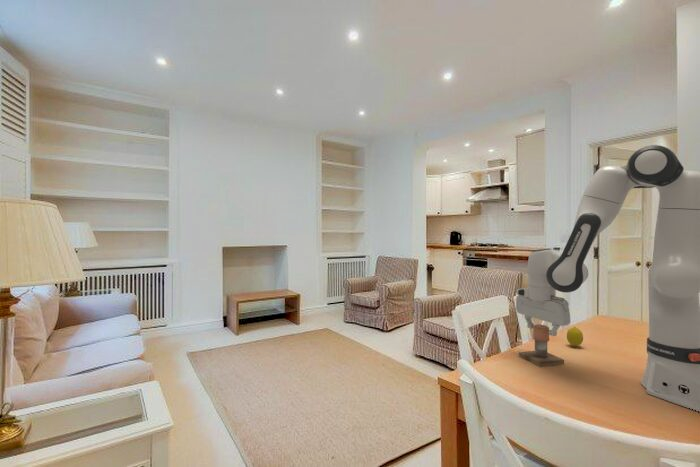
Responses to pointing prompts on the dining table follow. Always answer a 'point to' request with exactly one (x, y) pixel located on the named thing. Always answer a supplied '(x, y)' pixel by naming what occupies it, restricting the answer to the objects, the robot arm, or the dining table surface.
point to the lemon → (574, 336)
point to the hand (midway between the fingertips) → (541, 331)
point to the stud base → (541, 360)
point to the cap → (541, 333)
